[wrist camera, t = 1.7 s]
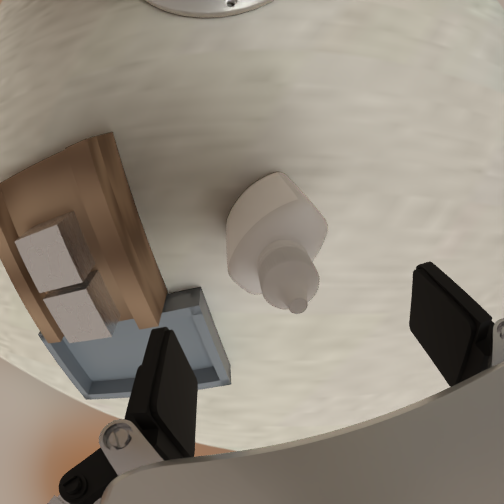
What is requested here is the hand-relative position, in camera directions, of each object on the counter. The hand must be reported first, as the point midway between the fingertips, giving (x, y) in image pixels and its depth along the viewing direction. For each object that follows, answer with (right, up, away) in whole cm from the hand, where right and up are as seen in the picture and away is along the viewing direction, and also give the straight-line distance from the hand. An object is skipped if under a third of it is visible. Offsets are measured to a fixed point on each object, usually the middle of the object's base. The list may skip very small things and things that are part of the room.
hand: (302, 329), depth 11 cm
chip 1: (-15, +3, +8) cm, 17 cm away
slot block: (-15, +4, +11) cm, 19 cm away
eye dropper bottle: (-1, +6, +11) cm, 13 cm away
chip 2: (-14, -1, +10) cm, 17 cm away
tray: (-13, -6, +16) cm, 21 cm away
